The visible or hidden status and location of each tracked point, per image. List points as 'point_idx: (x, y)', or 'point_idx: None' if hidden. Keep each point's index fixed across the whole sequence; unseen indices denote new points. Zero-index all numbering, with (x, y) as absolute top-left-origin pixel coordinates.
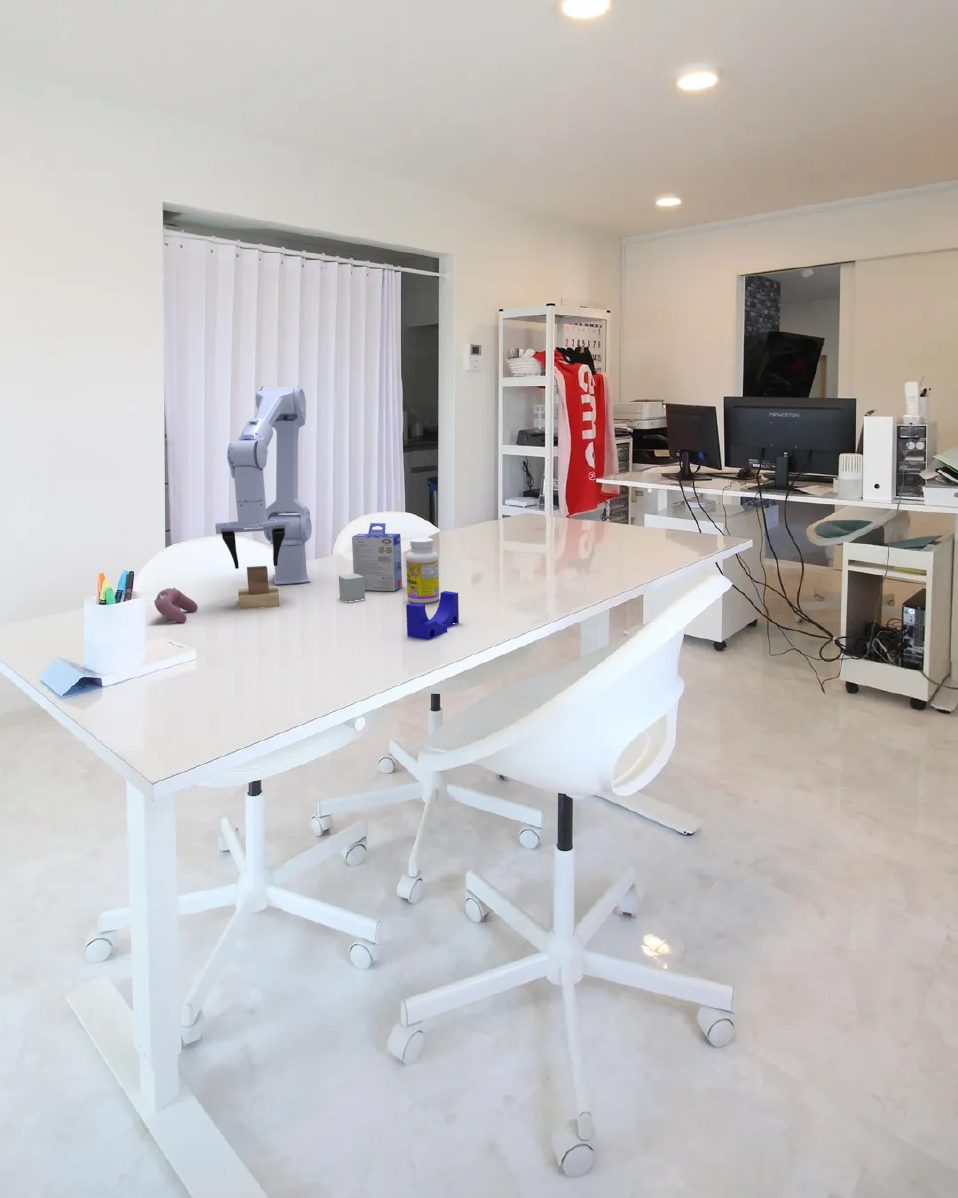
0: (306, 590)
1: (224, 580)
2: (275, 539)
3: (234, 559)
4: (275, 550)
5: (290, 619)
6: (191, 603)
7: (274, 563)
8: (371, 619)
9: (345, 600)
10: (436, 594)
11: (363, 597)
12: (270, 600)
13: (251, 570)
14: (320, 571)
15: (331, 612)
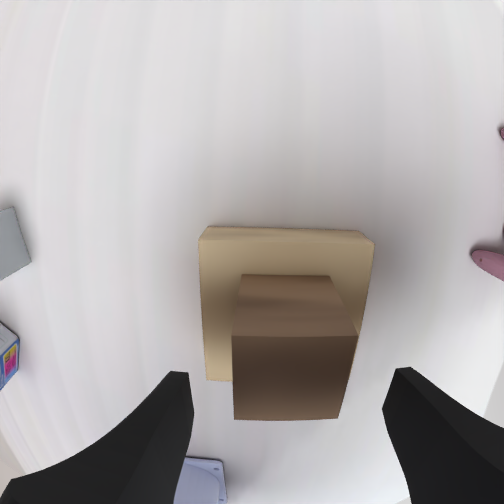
0: (132, 395)
1: (328, 500)
2: (93, 496)
3: (439, 392)
4: (140, 434)
5: (184, 22)
6: (496, 255)
7: (180, 379)
8: (5, 18)
9: (15, 220)
10: None
11: None
12: (239, 234)
13: (332, 334)
14: None
15: (55, 89)
